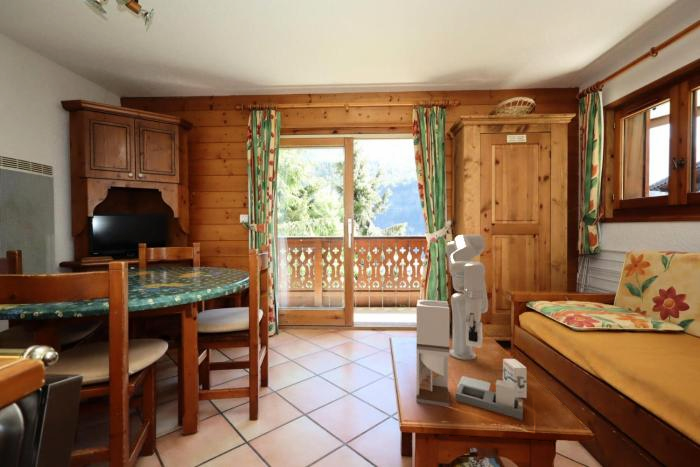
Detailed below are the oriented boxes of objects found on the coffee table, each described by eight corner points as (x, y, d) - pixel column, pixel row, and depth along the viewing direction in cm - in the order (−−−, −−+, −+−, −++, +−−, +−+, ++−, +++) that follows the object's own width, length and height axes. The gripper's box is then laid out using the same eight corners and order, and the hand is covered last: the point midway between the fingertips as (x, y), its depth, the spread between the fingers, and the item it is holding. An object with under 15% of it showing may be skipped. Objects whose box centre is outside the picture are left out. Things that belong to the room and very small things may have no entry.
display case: (416, 401, 105) (416, 305, 105) (417, 387, 115) (417, 299, 115) (449, 406, 102) (449, 308, 102) (447, 391, 112) (447, 301, 112)
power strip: (460, 391, 112) (460, 382, 112) (523, 408, 101) (523, 398, 101) (455, 401, 105) (455, 392, 105) (522, 421, 94) (522, 410, 94)
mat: (462, 377, 123) (462, 375, 123) (490, 384, 117) (490, 382, 117) (456, 388, 114) (456, 387, 114) (487, 397, 108) (487, 395, 108)
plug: (467, 342, 119) (467, 320, 119) (482, 344, 116) (482, 322, 116) (465, 345, 116) (465, 322, 116) (480, 348, 113) (480, 325, 113)
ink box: (502, 387, 115) (502, 358, 115) (514, 387, 115) (514, 358, 115) (514, 399, 107) (514, 367, 107) (527, 399, 106) (527, 367, 107)
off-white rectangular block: (496, 404, 103) (496, 379, 103) (514, 409, 100) (514, 383, 100) (495, 410, 100) (495, 384, 100) (514, 415, 97) (514, 388, 97)
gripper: (467, 289, 125) (467, 331, 125) (460, 296, 111) (460, 344, 111) (486, 291, 121) (486, 335, 121) (481, 298, 107) (481, 348, 107)
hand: (474, 338), depth 116 cm, fingers closed on plug, 4 cm apart
